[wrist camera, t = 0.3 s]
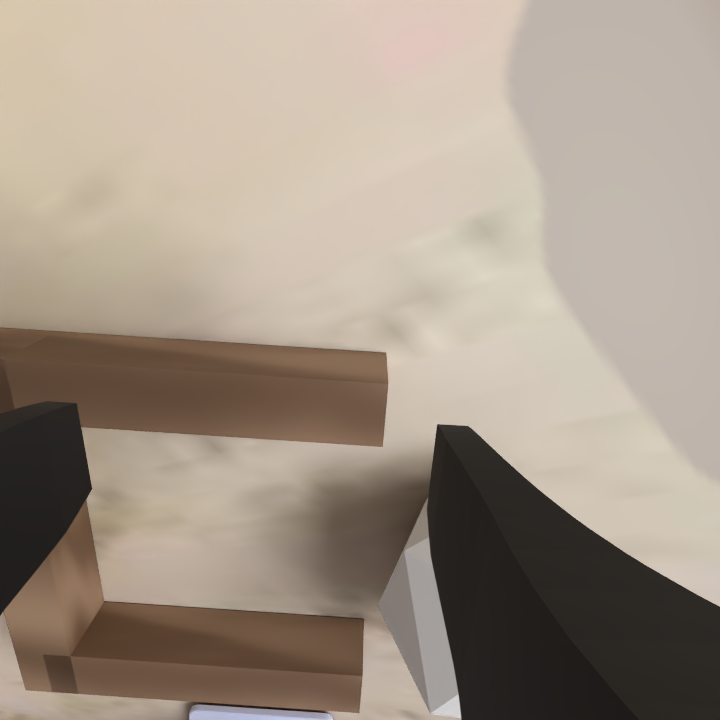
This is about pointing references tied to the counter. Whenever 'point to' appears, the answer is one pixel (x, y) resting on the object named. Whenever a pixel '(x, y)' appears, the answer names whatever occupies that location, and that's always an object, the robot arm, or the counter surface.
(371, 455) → the counter surface
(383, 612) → the die
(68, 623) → the pocket
